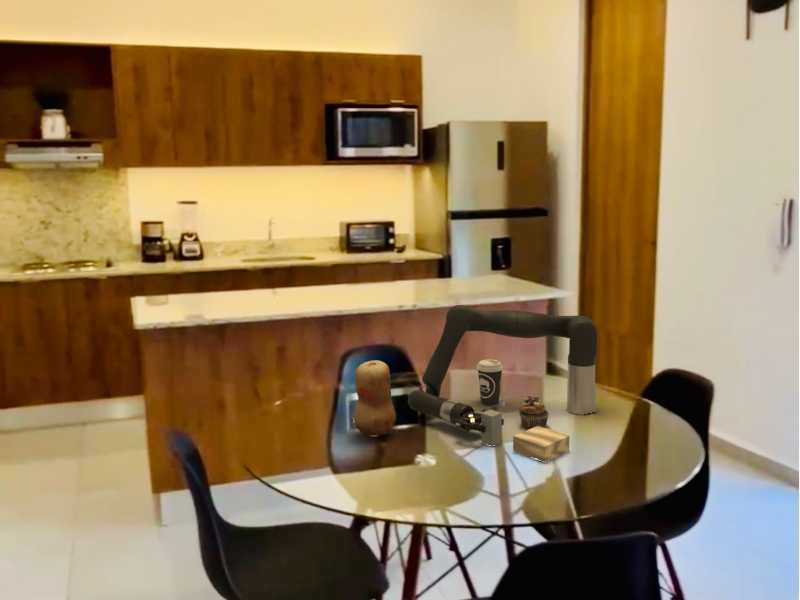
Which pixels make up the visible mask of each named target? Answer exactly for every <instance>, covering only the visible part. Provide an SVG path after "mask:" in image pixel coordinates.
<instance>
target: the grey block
mask: <svg viewBox="0 0 800 600" xmlns="http://www.w3.org/2000/svg"><path fill="white" fill-rule="evenodd" d="M487 410H488V411H486V412H483V413H481V425H484V426H485V427H486V432H484V433H482V432H480V433H481V442H483V443H485V444H488V445H491V446H493V445H496V446H498V445H500V444H499V443H501V444H502V443H503V433H502V432H503V431H502V430H503V427H502V426H503V425H502V418H503V416H502V412H500V411H496V410H493V409H487ZM485 444H484V445H485ZM497 444H498V445H497ZM488 445H487V446H488ZM491 446H490V447H491Z"/></svg>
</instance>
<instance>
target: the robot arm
mask: <svg viewBox="0 0 800 600" xmlns="http://www.w3.org/2000/svg"><path fill="white" fill-rule="evenodd" d="M445 315H446V316H445V324H444V327H443V332H442V333H441V334H442V335H441V336H440V339H439V342H438V344H437V346H436V348H435V350H434V352H433V354H432V356H431V357H430V360H429V361H428V364H427V365H426V368H425V371H424V373H423V375H422V378H421V381H422V382H423V384H424V385H426V388H425V391H424V390H421V389H420V390H419V389H416V390H414V391H412V392H411V393H409V394H408V397H407V403H408V405H409V407H410V408H411V409H412V410H413V411H417V412H419V413H422V414H426V415H430V416H432V417H434V418H437V419H439V420H442V421H445V422H447V423H448V424H451V425H454V426H455V428H457V429H460V430H462V431H464V432H466V433H469V432H471V431H472V432H473V431H477V432H479V433H481V432H482V433H484V432H486V427H485V426H484V425H481V413H483V412H486V411H488V410H489V409H487V408H486V409H485V408H484V409H482V411H481V412H480V411H475V409H474V408H473V406H471V405H470V404H466V403H463V402H460V401H458V400H451V399H448V398H445V397H440V396H441V395H440V394H441V389H442V388H441V387H442V384H443V382H444V380H445V378H446V374H447V373H448V370H449V367H450V366H451V363H452V360H453V357H454V354H455V352H456V349H457V347H458V345H459V343H460V342H461V339H462V338H463V337H464V335H465V334H466V332H484V333H492V334H494V335H500V336H503V337H504V336H505V337H510V338H521V339H538V338H544V337H545V338H546V337H560V338H565V339H569V341H568V342H569V343H568V344H569V347H568V350H569V351H568V354H567V381H566V382H567V383H566V386H567V387H566V390H567V391H566V393H567V394H566V411H567V412H568V411H569V413H570V412H571V414H574V415H581V416H583V415H584V414H586V415H589V414H588V413H591V412H594V411H596V412H597V385H596V382H595V381H596V380H595V379H596V359H597V353H598V351H597V350H598V329H597V327H596V325H595V323H594V322H593V321H592V319H590V318H589V317H587V316H585V315H552V314H546V313H540V312H531V311H524V310H513V309H512V310H509V309H508V310H507V309H504V310H503V309H500V310H484V309H483V310H482V309H475V308H471V307H467V305H464V304H457V305H454V306H451V308H449V309H448V311H447V312H446V314H445ZM591 414H592V413H591ZM504 424H505V420H504V418H503V417H502V426H504Z"/></svg>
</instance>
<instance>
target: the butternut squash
mask: <svg viewBox="0 0 800 600" xmlns="http://www.w3.org/2000/svg"><path fill="white" fill-rule="evenodd" d="M390 370H391V369H390V368H389V366H388V364H387V363H385V361H381V360H377V359H376V360H375V359H374V360H369V361H365V362H363V363H361V364H360V365H359V366H358V367H357V369H356V371H355V390H356V393H357V394H356V395H357V398H358V399H357V403H356V407H355V410H354V415H353V422H354V426H355V427H356V429H357V430H358V431H359V432H360V433H361V434H364V435H365V434H366V436H367V435H380V436H382V435H381V434H383V435H386V434H385V433H388V432H389V433H390V432H391V431H392V429H393V428H394V425H395V422H396V420H397V414H396V411H395V406H394V404H393V401H392V386H391V375H390V374H391V371H390ZM389 433H388V434H389Z"/></svg>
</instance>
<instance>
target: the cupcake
mask: <svg viewBox="0 0 800 600" xmlns="http://www.w3.org/2000/svg"><path fill="white" fill-rule="evenodd" d="M549 414H550V412H549V411H548V410H547V407H546V406H545V404H544V403H543V402H542V400H540V397H538V396H537V397H535V396H534V398H533V397H532V396H530V395H528V396H527V397H526V398H525V399H524V400H523V402H522V404H521V406H520V408H519V416H520V421H521V426H522V428H523V429H525V430H526V431H527V430H529V429H531V428H534V427H536V426H540V427H543V428H546V426H547V423H548V418H549Z"/></svg>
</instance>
